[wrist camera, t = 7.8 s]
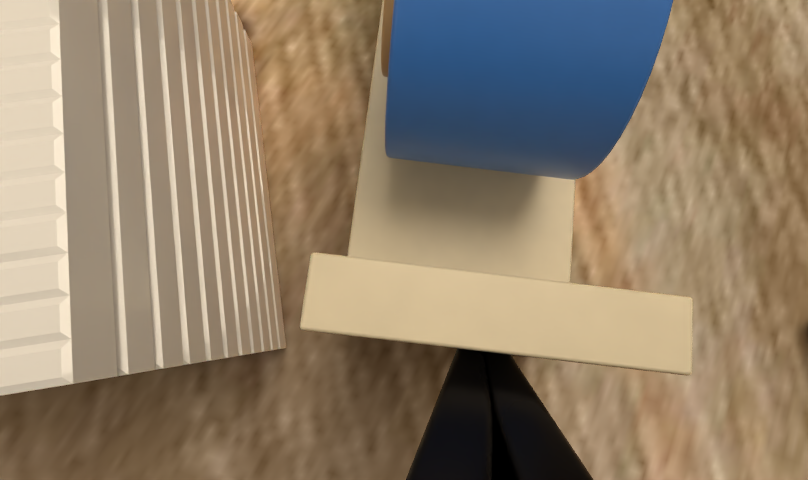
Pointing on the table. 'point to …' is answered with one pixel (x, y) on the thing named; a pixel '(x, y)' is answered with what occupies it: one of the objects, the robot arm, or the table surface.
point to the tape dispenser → (495, 184)
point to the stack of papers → (130, 191)
